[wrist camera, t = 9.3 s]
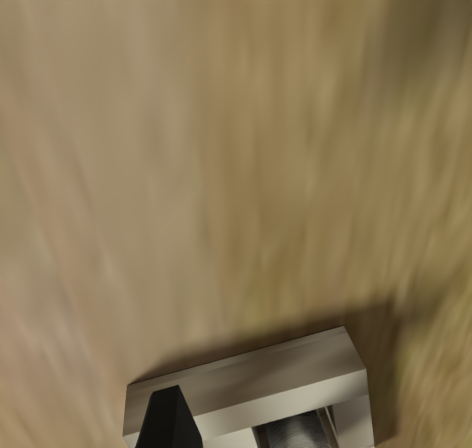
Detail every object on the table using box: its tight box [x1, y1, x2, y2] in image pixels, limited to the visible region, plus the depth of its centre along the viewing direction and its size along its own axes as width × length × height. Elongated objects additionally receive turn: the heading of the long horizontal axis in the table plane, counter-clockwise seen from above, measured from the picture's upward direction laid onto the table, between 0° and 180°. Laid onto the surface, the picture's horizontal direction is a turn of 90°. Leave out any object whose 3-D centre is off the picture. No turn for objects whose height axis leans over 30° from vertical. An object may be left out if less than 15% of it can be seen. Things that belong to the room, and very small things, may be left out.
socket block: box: [122, 326, 374, 448], centre depth 25 cm, size 12×12×3 cm
